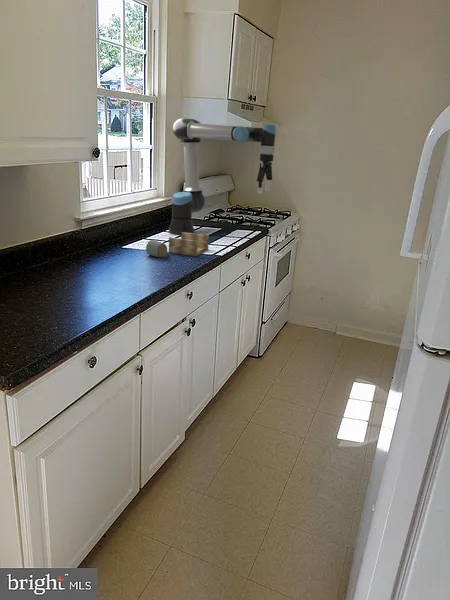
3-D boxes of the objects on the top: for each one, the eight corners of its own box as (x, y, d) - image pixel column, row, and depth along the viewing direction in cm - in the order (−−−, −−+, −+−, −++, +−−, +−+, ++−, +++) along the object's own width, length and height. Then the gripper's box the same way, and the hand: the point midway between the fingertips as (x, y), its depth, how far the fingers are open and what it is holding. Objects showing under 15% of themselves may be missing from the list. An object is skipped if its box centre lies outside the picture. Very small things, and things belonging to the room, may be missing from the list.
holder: (168, 252, 245) (168, 237, 242) (182, 245, 260) (182, 232, 257) (196, 256, 241) (196, 241, 238) (208, 249, 255) (208, 235, 253)
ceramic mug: (158, 259, 231) (158, 243, 229) (145, 256, 236) (145, 240, 233) (172, 255, 240) (173, 240, 237) (160, 252, 244) (160, 237, 242)
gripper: (266, 154, 258) (263, 195, 266) (279, 153, 280) (276, 191, 287) (253, 153, 261) (250, 193, 268) (267, 152, 283) (264, 189, 290)
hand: (263, 192), depth 278 cm, fingers open, 13 cm apart
